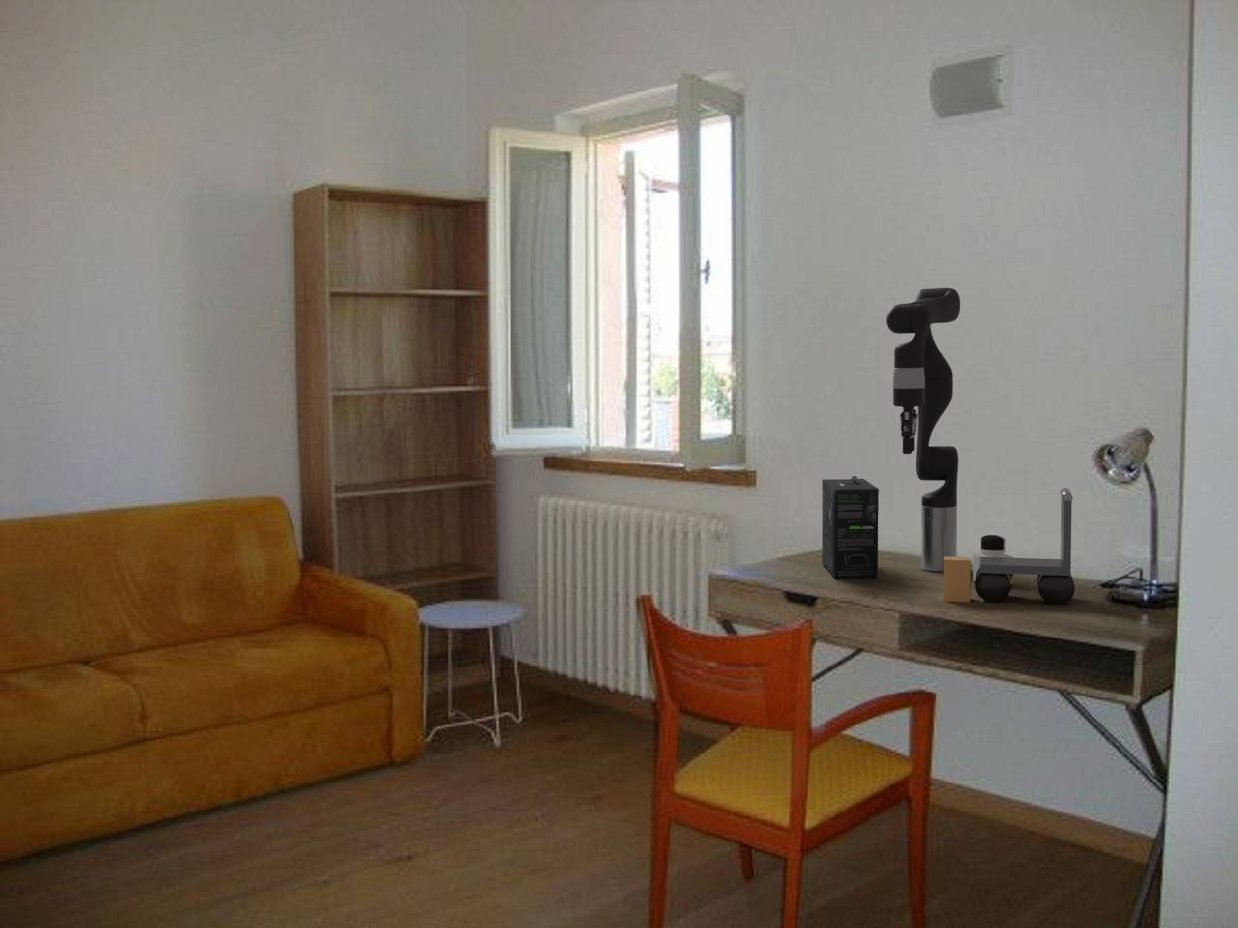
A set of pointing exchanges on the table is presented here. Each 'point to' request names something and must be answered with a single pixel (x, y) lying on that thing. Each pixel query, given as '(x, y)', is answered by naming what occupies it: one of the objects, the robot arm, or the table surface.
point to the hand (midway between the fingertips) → (908, 452)
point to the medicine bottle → (990, 551)
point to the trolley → (1032, 568)
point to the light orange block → (957, 579)
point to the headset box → (850, 528)
